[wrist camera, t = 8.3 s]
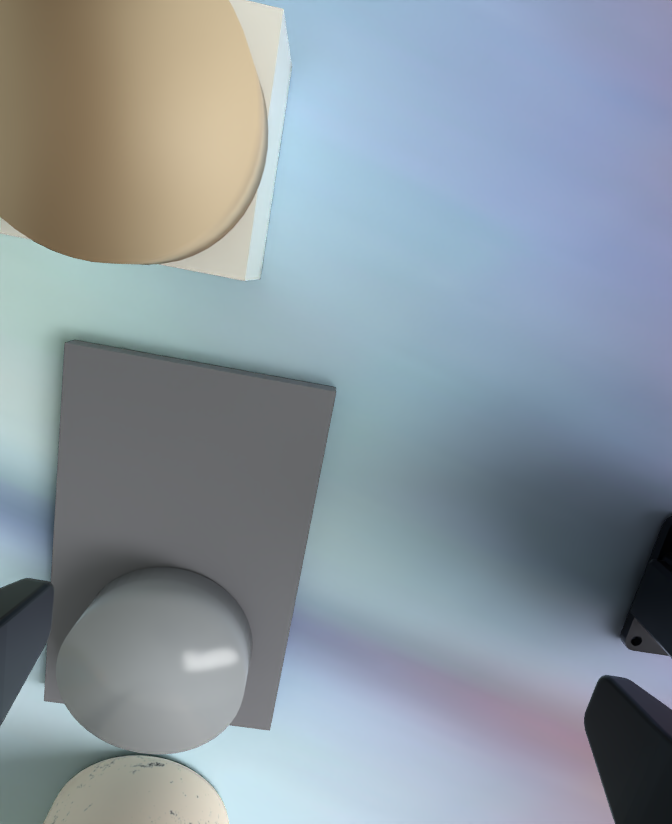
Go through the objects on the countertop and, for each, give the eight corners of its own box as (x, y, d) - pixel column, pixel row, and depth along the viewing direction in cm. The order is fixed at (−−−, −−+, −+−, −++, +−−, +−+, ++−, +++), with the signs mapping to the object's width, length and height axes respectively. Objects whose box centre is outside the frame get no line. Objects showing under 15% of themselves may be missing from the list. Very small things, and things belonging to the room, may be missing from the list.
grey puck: (244, 562, 21) (234, 595, 19) (259, 705, 23) (253, 749, 21) (67, 571, 21) (38, 605, 19) (98, 713, 23) (75, 758, 21)
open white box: (292, 67, 17) (283, 8, 14) (260, 279, 19) (245, 281, 15) (78, 18, 17) (7, -56, 13) (66, 241, 19) (-1, 233, 15)
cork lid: (282, -2, 13) (274, -65, 11) (254, 281, 15) (241, 283, 13) (-4, -54, 13) (-81, -131, 11) (2, 244, 15) (-63, 239, 12)
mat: (335, 387, 20) (336, 391, 20) (271, 715, 24) (269, 730, 24) (74, 340, 20) (64, 342, 19) (53, 686, 24) (43, 700, 23)
